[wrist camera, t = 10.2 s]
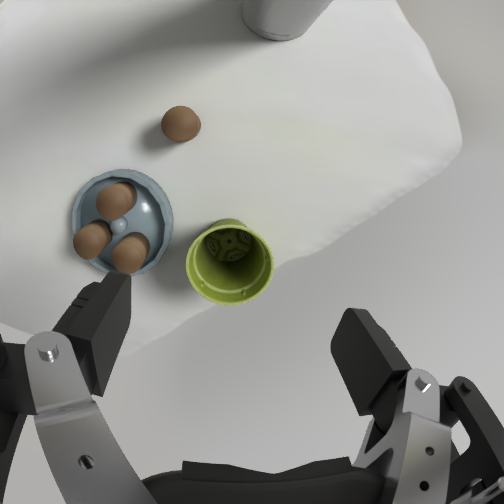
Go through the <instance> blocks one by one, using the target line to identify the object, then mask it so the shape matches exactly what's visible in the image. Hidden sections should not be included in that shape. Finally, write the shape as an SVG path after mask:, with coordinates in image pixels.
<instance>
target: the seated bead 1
mask: <svg viewBox="0 0 504 504" xmlns="http://www.w3.org/2000/svg"><path fill="white" fill-rule="evenodd" d="M112 236H113V233H112V231H111V228H110V225H109V224H108V223H107V222H106V221H104V220H101V219H96V220H93V221H92V222H91V223H89V224H88V225H86V226H85V227H83V228H82V229H81V230H79V231H78V232H77V233H76V234H75V236H74V240H73V244H74V248H75V250H76V252H77V254H78V255H79V256H80V257H82V258H84V259H86V260H92V259H94V258H96V257H97V256H98V255H99V254H100V253H101V252H102V251H103V250H104V249H105V248H106V246H107V245H108V244H109V243H110V242H111V240H112Z"/></svg>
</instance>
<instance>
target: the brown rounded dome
mask: <svg viewBox="0 0 504 504" xmlns="http://www.w3.org/2000/svg"><path fill="white" fill-rule="evenodd" d="M137 197H138V196H137V191H136V189H135V187H134V186H133V185H132V184H131V183H129V182H126V181H120V182H118V183H115V184H113V185H110V186H108V187H106V188H104V189H102V190H101V191H100V192H99V193H98V195H97V198H96V208H97V211H98V213H99V214H100V216H101V217H103V218H104V219H106V220H109V221H114V220H117V219H119V218H121V217H122V216H123V215H124V214H126V213H127V212H128V211H129V210H131V209H132V208H133V207H134V206H135V204H136V202H137Z"/></svg>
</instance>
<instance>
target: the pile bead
mask: <svg viewBox="0 0 504 504" xmlns="http://www.w3.org/2000/svg"><path fill="white" fill-rule="evenodd" d="M161 126H162V131H163V133H164V134H165V135H166V136H167V137H168V138H169V139H171V140H174V141H189V140H191V139H193V138H194V137H196V136H197V134H198V133H199V131H200V127H201V123H200V119H199V117H198V116H197V115H196V114H195V113H194V112H193V111H192V110H191V109H190V108H188V107H185V106H176V107H173V108H171V109H170V110H168V111H167V112H166V113H165V115H164V116H163V119H162V123H161Z"/></svg>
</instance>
